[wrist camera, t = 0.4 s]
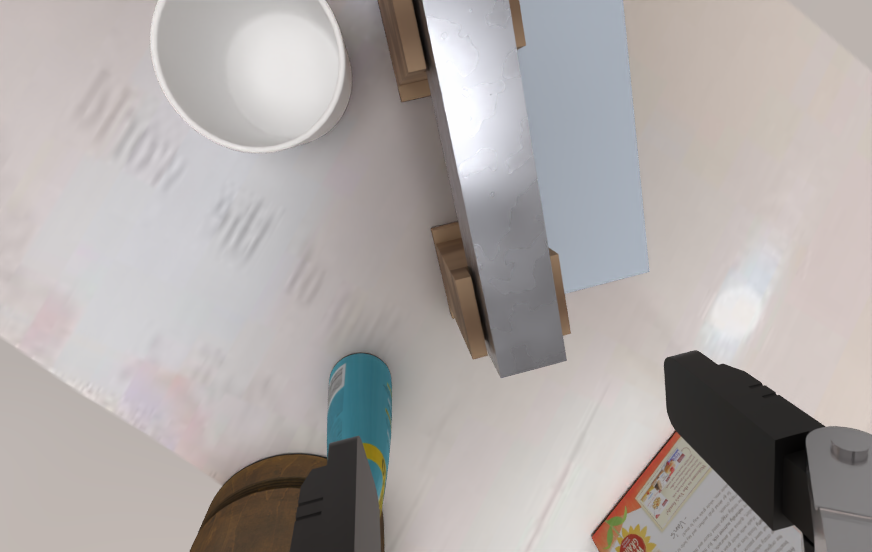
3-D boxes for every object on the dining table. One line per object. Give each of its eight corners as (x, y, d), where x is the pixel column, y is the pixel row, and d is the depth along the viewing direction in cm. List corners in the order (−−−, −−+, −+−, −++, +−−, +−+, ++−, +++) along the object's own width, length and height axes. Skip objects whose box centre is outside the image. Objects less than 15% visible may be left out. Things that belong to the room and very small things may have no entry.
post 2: (430, 228, 37) (451, 263, 28) (508, 208, 38) (555, 237, 28) (450, 314, 39) (476, 374, 30) (524, 295, 40) (573, 348, 30)
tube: (390, 419, 41) (407, 651, 23) (330, 421, 41) (298, 662, 23) (391, 335, 39) (410, 517, 21) (328, 336, 39) (290, 525, 20)
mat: (499, -12, 33) (501, -14, 33) (614, -38, 34) (619, -41, 33) (549, 294, 40) (552, 297, 39) (645, 269, 40) (649, 271, 40)
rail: (401, -46, 25) (406, -76, 21) (475, -62, 25) (493, -95, 21) (485, 347, 32) (501, 378, 28) (543, 332, 32) (566, 360, 28)
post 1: (375, -11, 32) (377, -67, 23) (465, -31, 33) (504, -94, 23) (401, 102, 35) (413, 93, 25) (486, 82, 35) (529, 66, 25)
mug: (224, -70, 31) (150, -168, 20) (379, 71, 34) (382, 48, 24) (142, 45, 32) (35, 7, 22) (300, 171, 35) (271, 190, 25)
